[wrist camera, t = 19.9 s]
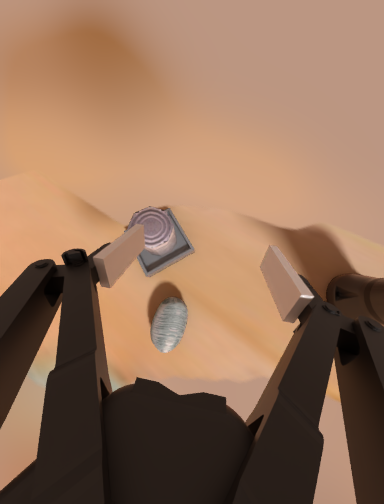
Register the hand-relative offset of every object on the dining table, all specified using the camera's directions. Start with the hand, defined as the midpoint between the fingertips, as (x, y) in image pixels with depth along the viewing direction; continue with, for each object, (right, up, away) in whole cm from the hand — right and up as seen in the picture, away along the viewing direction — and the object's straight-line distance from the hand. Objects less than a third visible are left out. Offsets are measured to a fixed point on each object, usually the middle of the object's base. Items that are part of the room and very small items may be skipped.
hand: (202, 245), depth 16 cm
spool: (-7, -21, +29) cm, 37 cm away
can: (-12, +3, +34) cm, 36 cm away
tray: (-12, +2, +34) cm, 36 cm away
